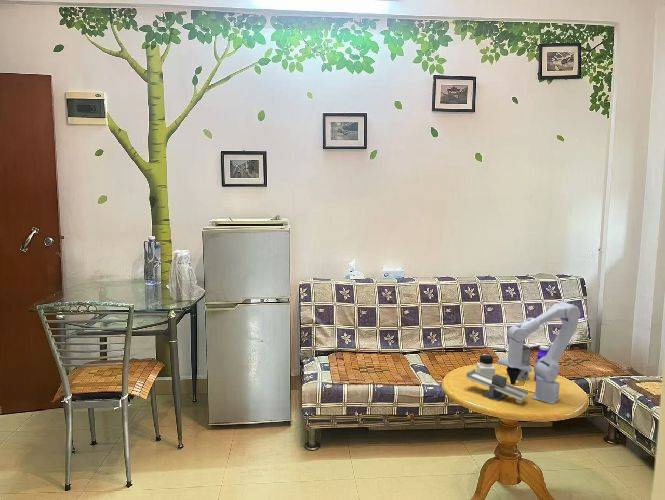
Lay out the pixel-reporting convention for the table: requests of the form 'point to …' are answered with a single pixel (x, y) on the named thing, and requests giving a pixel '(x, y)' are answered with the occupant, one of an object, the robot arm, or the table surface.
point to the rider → (499, 381)
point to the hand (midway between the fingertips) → (513, 384)
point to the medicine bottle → (486, 365)
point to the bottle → (541, 354)
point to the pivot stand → (494, 394)
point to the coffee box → (525, 362)
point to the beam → (508, 390)
